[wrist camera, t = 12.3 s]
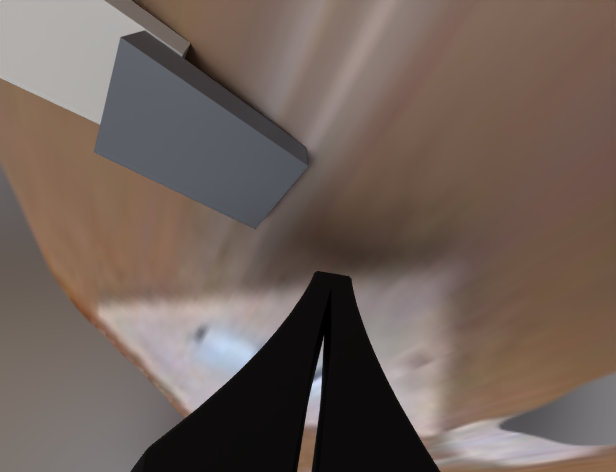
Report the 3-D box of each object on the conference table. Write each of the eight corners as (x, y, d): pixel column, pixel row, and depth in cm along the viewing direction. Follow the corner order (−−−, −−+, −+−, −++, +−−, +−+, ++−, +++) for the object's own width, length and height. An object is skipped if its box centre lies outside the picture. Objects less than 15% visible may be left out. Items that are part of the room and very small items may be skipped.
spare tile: (308, 165, 11) (120, 37, 7) (255, 229, 13) (93, 152, 10) (305, 147, 12) (144, 29, 9) (257, 207, 14) (116, 133, 11)
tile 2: (182, 54, 9) (-154, -179, 5) (148, 147, 12) (-106, 28, 8) (190, 43, 10) (-82, -155, 7) (157, 129, 13) (-59, 18, 9)
